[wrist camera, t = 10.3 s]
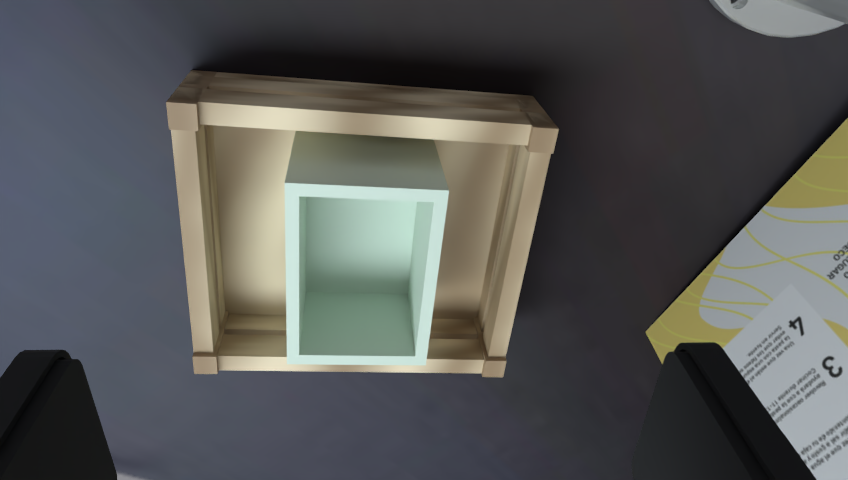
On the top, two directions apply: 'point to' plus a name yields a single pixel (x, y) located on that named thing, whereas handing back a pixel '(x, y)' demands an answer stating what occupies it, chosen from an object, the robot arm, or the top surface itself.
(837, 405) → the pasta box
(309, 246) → the box
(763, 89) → the top surface
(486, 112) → the crate big
